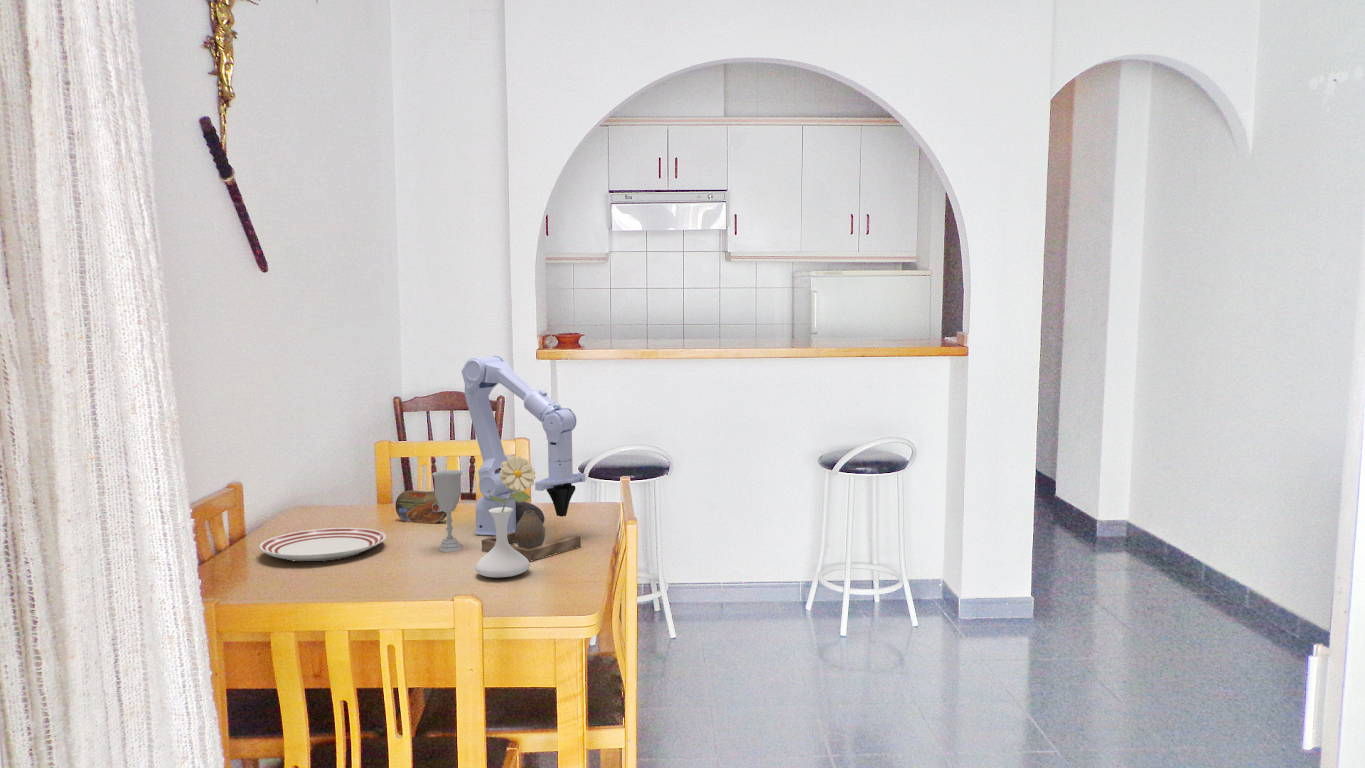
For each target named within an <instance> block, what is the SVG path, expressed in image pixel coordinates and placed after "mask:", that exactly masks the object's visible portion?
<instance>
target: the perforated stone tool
mask: <svg viewBox="0 0 1365 768" xmlns="http://www.w3.org/2000/svg"><path fill="white" fill-rule="evenodd" d="M525 511H534V512H535V514H536V516H537V517H538V518H539V519H540V520H541V522H542V523H543V524H544V522H545V521H546V520H545V519H546V518H545V514H544V513H543V510H542V509H541V508H539V507H538V506H536V505H534V504H533V503H531V502H528V501H524V502H520V503H519V502H516V525H517V523H518V522H519V520H520V519H521V518H522V516H523V514H524V512H525Z"/></svg>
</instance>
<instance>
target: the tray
mask: <svg viewBox="0 0 1365 768" xmlns="http://www.w3.org/2000/svg"><path fill="white" fill-rule="evenodd" d="M581 538H582V537H581V536H579V535H576V536H573V537H567V538H566V539H561V540H558V541H554V542H549V543H547V544H542V546H539V547H535V548H532V549H526V548H522V547H519V546H518V545H514V544H513V543H515V544H517V543H516V540H515V532H511V533H507V539H508V543H509V544H511V545H510V546H511V547H512V548H514V549H515V550H516V551H518V552H519V553H521V554H522V555H523V556H525V557H526V558H527V559H528V561H531V560H535V559H539V558H542V559H544V558H543V557H545V558H547V557H546V556H549V555H552V556H554V555H553V554H555V553H559V552H563V551H566V550H569V549H572V548H576V547H580V546H581V545H582V544H581V543H582V541H581V540H582V539H581ZM495 543H496V535H494V536H493V537H492V536H491V537H488V538H484V539H481V551H483V552H485V553H488V552H489V551H490V550H491V549H492V548H493V547H494V546H495ZM581 547H582V546H581ZM581 547H580V548H581ZM576 549H577V548H576ZM569 551H570V550H569ZM566 552H567V551H566ZM563 553H564V552H563ZM559 554H560V553H559ZM549 557H550V556H549ZM539 560H540V559H539ZM535 561H536V560H535Z"/></svg>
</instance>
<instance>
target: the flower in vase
mask: <svg viewBox="0 0 1365 768" xmlns="http://www.w3.org/2000/svg"><path fill="white" fill-rule="evenodd" d="M507 458H508V459H507V461H504V462H502V465H501V470H500V480H502V481H503V484H506V488H507V489H509V488H510V489H511V493H510V495H509V497H508V499H507V501H506V503H505V501H504V500H503V499H500V498H496V497H493V496H491V495H490V494H489V495H490V498H491V499H492V500H494V501H498V502H501V503H505V504H504V506H503V507H499V508H493V509H490V510H489V512H490V514H491V515H492V516H493V519H494V522H495V526H496V535H495V536H496V543H495V546H494V547H493V548H492V549H491V550H490V551H489V552H486V553H485V554H484V556H482V557H481V558H480V559H479V560H478V561H477V563H476V564H475V567H474V570H475V572H477V574H478V575H481V576H483V577H487V578H494V579H495V578H499V579H500V578H508V577H515V576H518V575H520V574H524V573H525V572H526V571H527V570H529V568H530V567H531V562H529V561H528V559H527V558H526V557H525V556H523V555H522V554H521V553H519V552H518V551H516V550H515V549H514V548H512V547H511V546H510V545H509V543H508V539H507V524H508V519H509V516H510V514H511V512H512V511H513V509H512V508H508V507H505V506H506V504H507V502H508V501H509V499H510V497H511V496H512V498H513V499H514V500H515V501H516V502H519V503H520V502H527V501H528V500H530V499H531V496H530V495H529V494H528V493H527V492H526V490H527V489H530V488H531V487H532V486H535V481H534V480H535V479H536V471H535V468H533V465H532V464H530V463H529V460H527V459H526V457H525V458H524V457H523V458H522V457H521V456H518V457H516V456H515V455H512V456H511V457H507ZM516 490H517V491H516ZM513 491H516V492H515V493H513V494H512V492H513ZM527 572H528V571H527Z"/></svg>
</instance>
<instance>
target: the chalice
mask: <svg viewBox="0 0 1365 768" xmlns="http://www.w3.org/2000/svg"><path fill="white" fill-rule="evenodd" d="M462 474H463V471H462V470H459V469H457V470H456V469H446V470H438V471H434V472H432V473H431V475H432V477H433V479H434V491H435V496H436V499H437V501H438V503H439V505H440V507H441V509H442V511H443V512H446V513H447V516H446V518H445V519H446V520H445V522H446V528H445V530H446V532H447V536H446V537H445V538H444V539H442V540H441V544H440V547H439V549H438V550H439V551H440V552H443V553H449V552H450V553H451V552H456V551H459V550H462V546H460V543H459V540H458V539H457V538H456V537H454V536H453V534H452V532H453V530H454V527H453V525H452V522H453V521H454V520H453V519H452V512H454V511H455V510H456V509H457V505H458V504H459V501H460V497H461V495H462V484H461V483H462V481H461V480H462V479H461V477H462Z"/></svg>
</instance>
